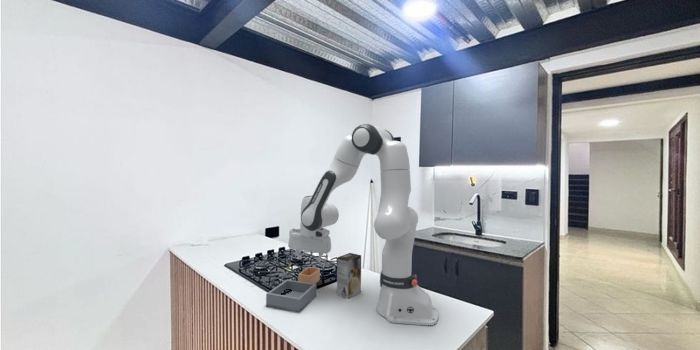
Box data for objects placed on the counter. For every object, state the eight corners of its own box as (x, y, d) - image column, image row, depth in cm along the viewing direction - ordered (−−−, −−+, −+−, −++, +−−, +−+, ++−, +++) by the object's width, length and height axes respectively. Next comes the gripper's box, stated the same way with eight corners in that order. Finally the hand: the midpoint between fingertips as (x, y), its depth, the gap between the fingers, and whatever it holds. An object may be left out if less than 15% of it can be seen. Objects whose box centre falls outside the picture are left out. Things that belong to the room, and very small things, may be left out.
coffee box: (349, 288, 126) (350, 252, 126) (361, 292, 122) (362, 255, 122) (336, 295, 119) (336, 257, 119) (348, 299, 115) (349, 260, 115)
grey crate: (316, 296, 118) (316, 284, 118) (299, 313, 103) (299, 299, 103) (286, 291, 122) (286, 279, 122) (266, 306, 107) (266, 293, 107)
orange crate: (319, 281, 133) (319, 268, 133) (310, 289, 124) (310, 275, 124) (308, 279, 135) (308, 266, 135) (298, 287, 126) (298, 274, 126)
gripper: (286, 229, 129) (285, 259, 130) (327, 234, 123) (326, 265, 124) (292, 226, 135) (292, 255, 136) (332, 231, 129) (331, 261, 130)
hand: (308, 260), depth 130 cm, fingers open, 8 cm apart
